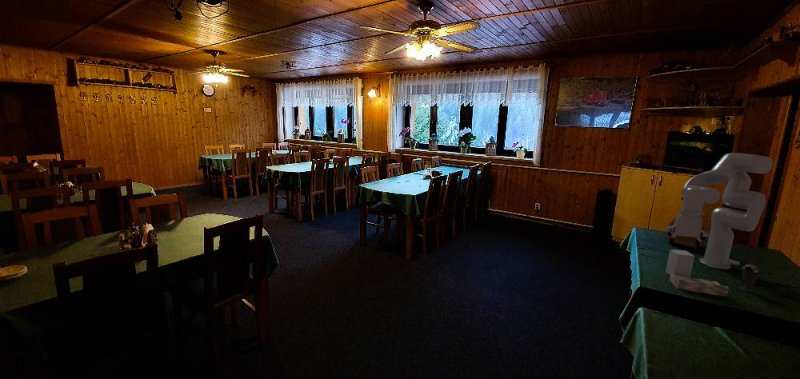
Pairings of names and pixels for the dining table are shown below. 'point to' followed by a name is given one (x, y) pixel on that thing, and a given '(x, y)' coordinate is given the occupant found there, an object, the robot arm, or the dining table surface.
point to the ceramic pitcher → (684, 239)
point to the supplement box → (680, 263)
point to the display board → (699, 285)
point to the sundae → (749, 275)
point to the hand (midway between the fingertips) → (682, 246)
